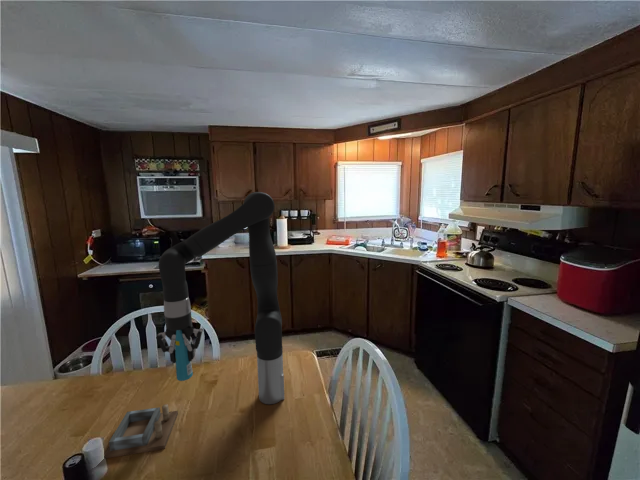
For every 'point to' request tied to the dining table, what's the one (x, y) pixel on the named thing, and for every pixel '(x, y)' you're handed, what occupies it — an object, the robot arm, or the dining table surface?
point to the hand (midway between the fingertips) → (182, 360)
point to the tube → (182, 358)
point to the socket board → (142, 432)
